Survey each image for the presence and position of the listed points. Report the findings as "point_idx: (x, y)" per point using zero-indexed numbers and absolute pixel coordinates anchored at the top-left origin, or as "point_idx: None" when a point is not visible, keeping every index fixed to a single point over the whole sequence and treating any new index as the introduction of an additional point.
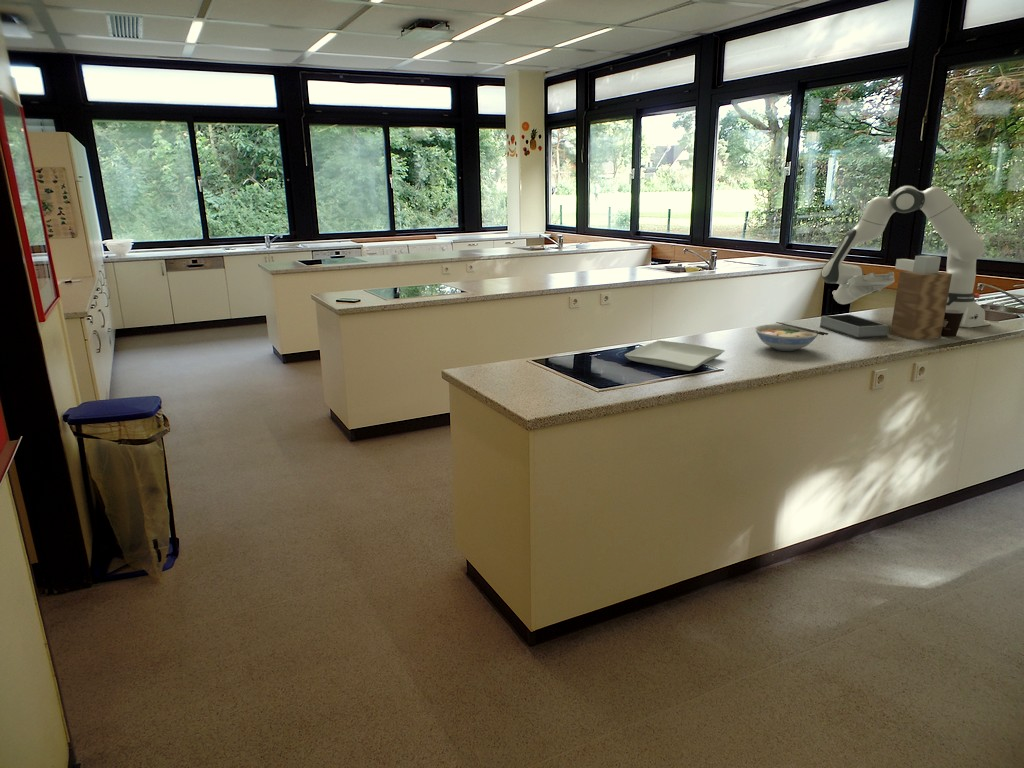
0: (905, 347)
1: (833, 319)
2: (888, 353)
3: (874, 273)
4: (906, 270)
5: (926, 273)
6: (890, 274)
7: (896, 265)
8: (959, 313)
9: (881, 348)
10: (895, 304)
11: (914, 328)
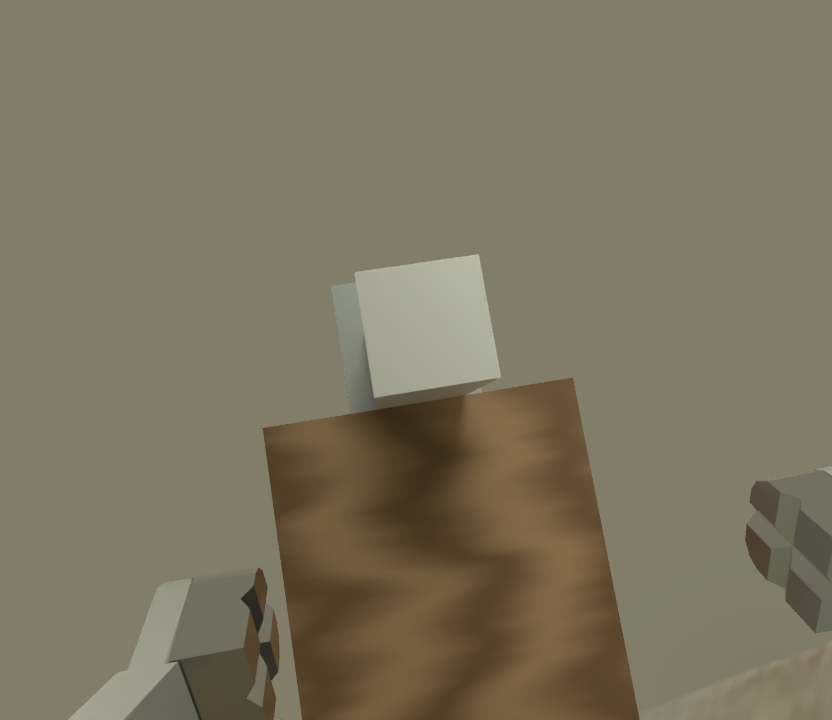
0: (697, 713)
1: None
2: (800, 653)
3: (765, 490)
4: (471, 391)
5: None
6: (273, 631)
7: (491, 336)
8: None
9: (826, 693)
10: (629, 684)
11: None
